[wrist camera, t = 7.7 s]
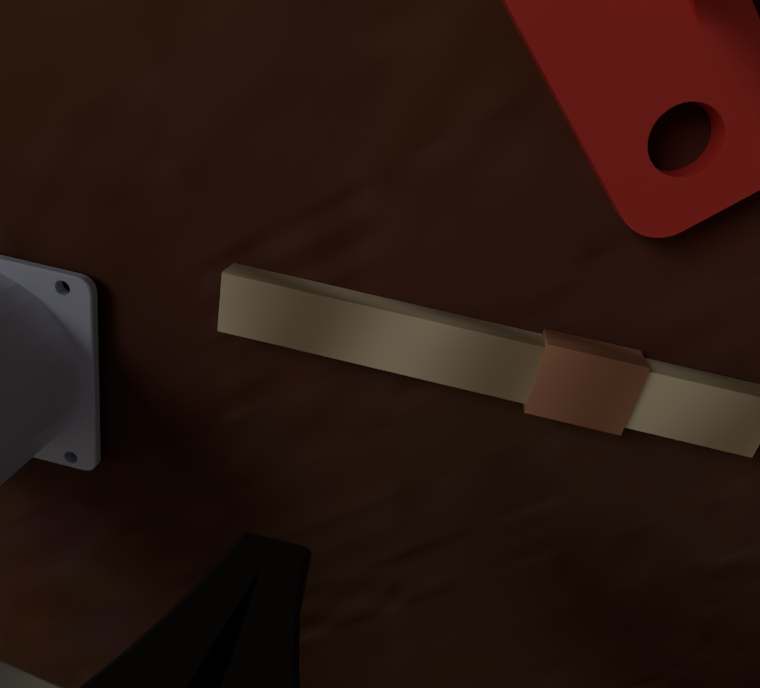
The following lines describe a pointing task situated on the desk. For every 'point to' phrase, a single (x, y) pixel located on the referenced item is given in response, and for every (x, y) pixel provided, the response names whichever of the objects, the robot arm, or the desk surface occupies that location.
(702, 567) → the desk surface
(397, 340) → the guide track
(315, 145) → the desk surface
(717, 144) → the bracket
